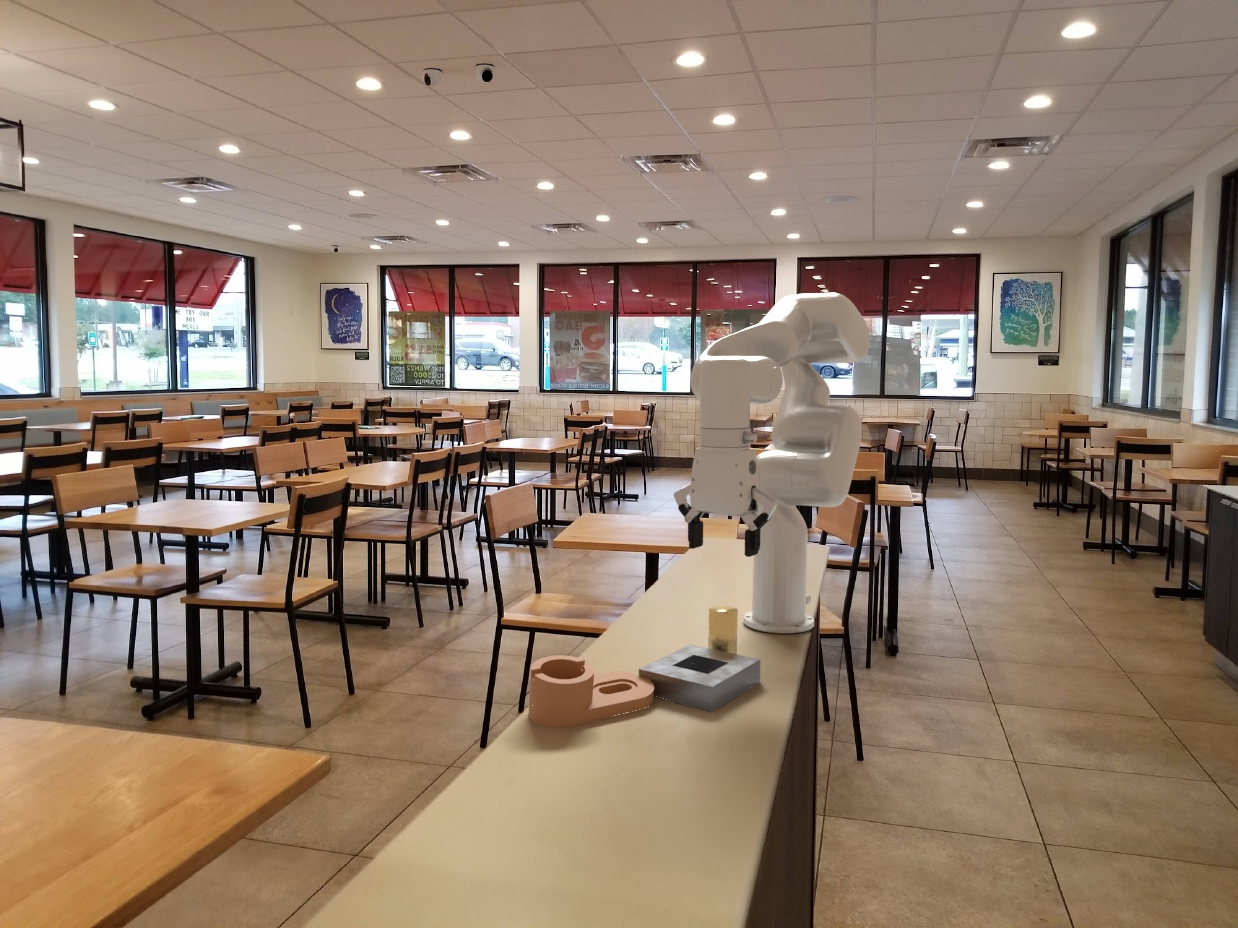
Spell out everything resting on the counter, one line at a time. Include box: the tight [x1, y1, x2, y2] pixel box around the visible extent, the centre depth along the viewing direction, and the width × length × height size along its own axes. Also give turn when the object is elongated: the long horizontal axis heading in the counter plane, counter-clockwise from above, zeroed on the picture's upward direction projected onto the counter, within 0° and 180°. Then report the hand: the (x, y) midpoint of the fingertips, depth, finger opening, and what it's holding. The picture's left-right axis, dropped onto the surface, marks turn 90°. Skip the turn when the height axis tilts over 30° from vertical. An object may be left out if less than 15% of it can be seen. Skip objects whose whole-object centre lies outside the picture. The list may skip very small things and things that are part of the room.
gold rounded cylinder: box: [707, 605, 739, 654], centre depth 135 cm, size 4×4×9 cm
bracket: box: [528, 654, 654, 728], centre depth 118 cm, size 18×8×7 cm, turn 120°
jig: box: [638, 644, 761, 713], centre depth 126 cm, size 14×12×4 cm
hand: (723, 551), depth 134 cm, fingers open, 9 cm apart
